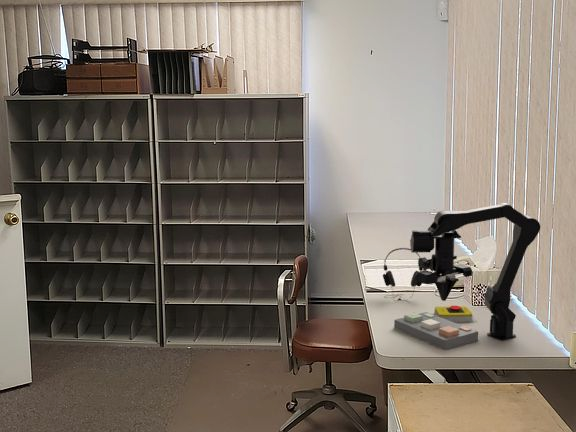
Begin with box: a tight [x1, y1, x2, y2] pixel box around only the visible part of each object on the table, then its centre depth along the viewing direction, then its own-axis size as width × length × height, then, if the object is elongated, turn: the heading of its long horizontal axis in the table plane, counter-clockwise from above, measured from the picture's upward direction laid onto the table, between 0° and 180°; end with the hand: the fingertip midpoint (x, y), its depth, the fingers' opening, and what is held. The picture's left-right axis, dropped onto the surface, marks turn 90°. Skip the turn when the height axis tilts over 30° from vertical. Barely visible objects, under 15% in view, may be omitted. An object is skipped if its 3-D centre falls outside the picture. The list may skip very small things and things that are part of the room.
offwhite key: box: [421, 319, 440, 330], centre depth 211 cm, size 4×4×2 cm
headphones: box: [382, 247, 423, 302], centre depth 249 cm, size 15×11×20 cm
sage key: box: [403, 312, 423, 323], centre depth 218 cm, size 4×4×2 cm
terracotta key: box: [439, 326, 459, 337], centre depth 204 cm, size 4×4×2 cm
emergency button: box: [432, 305, 478, 323], centre depth 228 cm, size 9×4×15 cm
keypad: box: [393, 311, 479, 351], centre depth 212 cm, size 23×14×3 cm, turn 32°
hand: (443, 300), depth 208 cm, fingers closed
